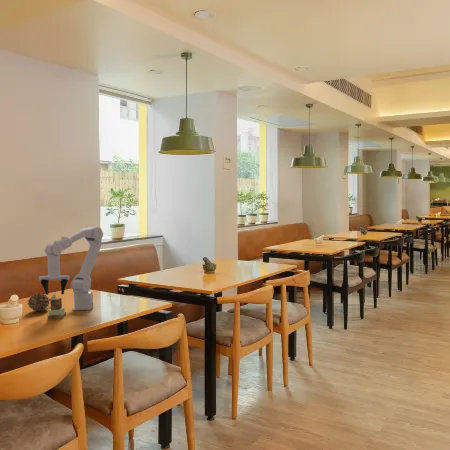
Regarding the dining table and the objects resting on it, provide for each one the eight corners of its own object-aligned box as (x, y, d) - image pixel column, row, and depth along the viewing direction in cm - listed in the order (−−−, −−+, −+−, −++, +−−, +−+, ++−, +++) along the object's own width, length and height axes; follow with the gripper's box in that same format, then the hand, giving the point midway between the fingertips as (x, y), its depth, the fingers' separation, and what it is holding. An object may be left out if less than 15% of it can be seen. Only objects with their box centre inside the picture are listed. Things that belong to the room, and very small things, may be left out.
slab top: (64, 311, 242) (64, 307, 242) (61, 314, 236) (61, 309, 236) (52, 312, 241) (51, 307, 241) (48, 315, 235) (48, 310, 235)
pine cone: (41, 315, 244) (40, 295, 243) (23, 314, 245) (22, 295, 244) (62, 305, 265) (61, 287, 265) (45, 304, 267) (45, 286, 266)
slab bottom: (66, 316, 242) (65, 311, 242) (62, 320, 235) (62, 315, 235) (51, 317, 242) (51, 312, 242) (47, 320, 235) (47, 315, 235)
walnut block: (61, 307, 240) (61, 297, 240) (58, 309, 236) (58, 299, 236) (53, 307, 240) (53, 297, 240) (50, 309, 236) (50, 299, 236)
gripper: (36, 269, 238) (37, 296, 239) (66, 268, 239) (67, 295, 239) (41, 266, 245) (42, 293, 246) (70, 266, 246) (71, 292, 246)
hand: (54, 294), depth 243 cm, fingers open, 7 cm apart
